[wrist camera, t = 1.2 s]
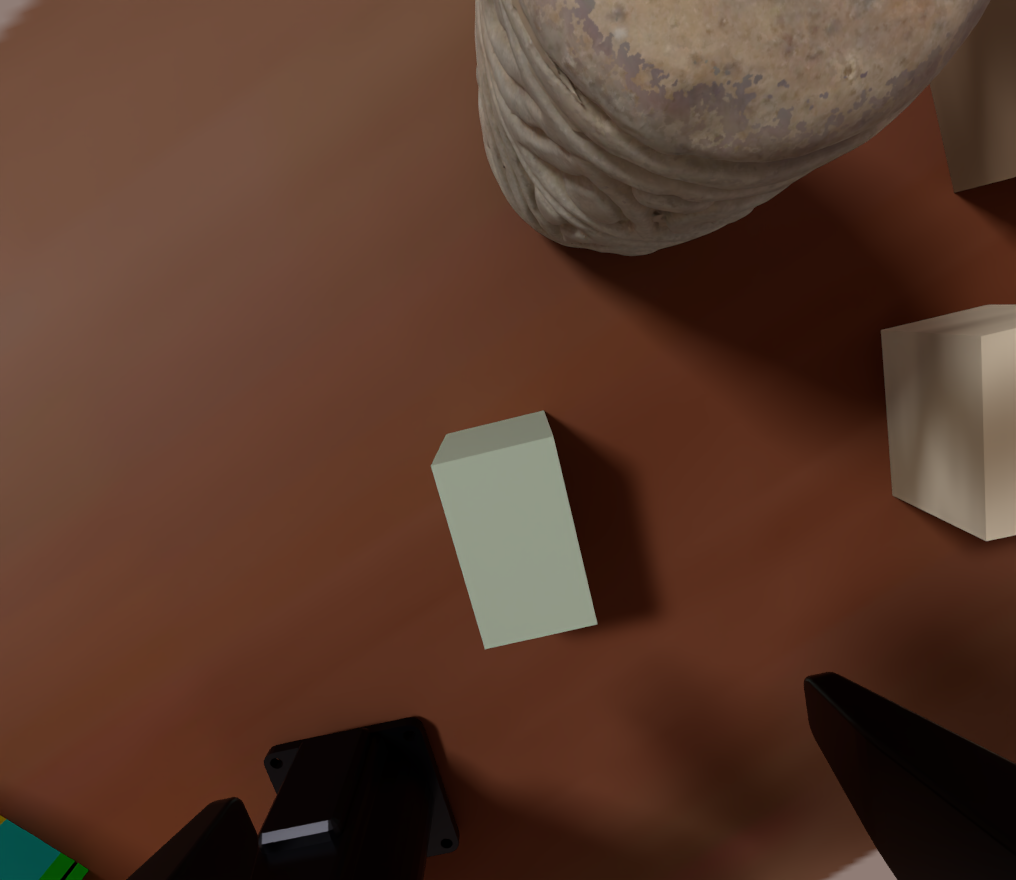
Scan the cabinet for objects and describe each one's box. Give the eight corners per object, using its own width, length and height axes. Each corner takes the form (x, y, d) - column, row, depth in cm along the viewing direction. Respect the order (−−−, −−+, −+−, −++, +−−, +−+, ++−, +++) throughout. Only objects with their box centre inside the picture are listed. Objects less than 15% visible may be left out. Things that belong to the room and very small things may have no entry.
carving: (570, 309, 18) (692, 314, 6) (432, 99, 16) (239, -445, 4) (738, 190, 17) (1269, -77, 5) (610, -44, 15) (946, -1183, 4)
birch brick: (988, 472, 19) (1111, 514, 15) (890, 494, 19) (986, 541, 15) (985, 304, 18) (1119, 303, 14) (878, 330, 18) (981, 336, 14)
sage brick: (579, 562, 20) (597, 624, 16) (489, 583, 20) (485, 649, 16) (543, 409, 19) (553, 436, 15) (446, 433, 19) (430, 465, 15)
